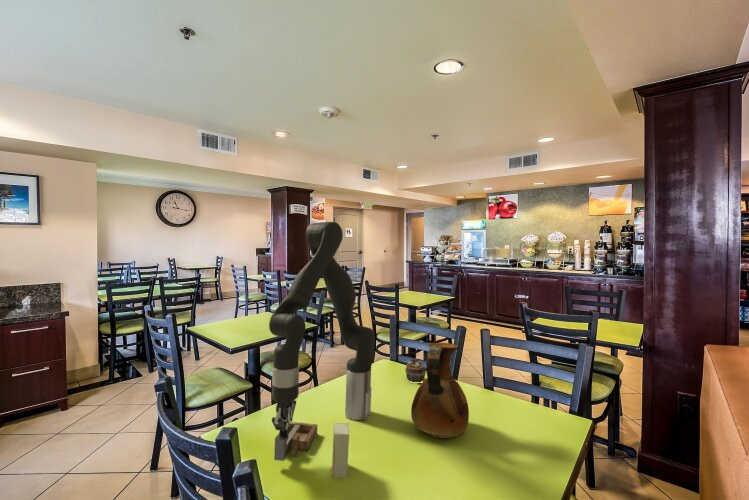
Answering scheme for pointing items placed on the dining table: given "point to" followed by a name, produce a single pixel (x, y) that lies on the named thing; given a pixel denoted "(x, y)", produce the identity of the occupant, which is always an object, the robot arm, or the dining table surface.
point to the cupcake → (415, 370)
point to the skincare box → (340, 449)
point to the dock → (302, 437)
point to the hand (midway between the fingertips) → (283, 440)
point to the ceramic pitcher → (440, 396)
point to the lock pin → (284, 444)
